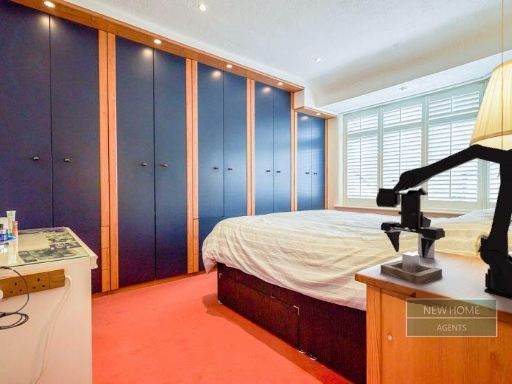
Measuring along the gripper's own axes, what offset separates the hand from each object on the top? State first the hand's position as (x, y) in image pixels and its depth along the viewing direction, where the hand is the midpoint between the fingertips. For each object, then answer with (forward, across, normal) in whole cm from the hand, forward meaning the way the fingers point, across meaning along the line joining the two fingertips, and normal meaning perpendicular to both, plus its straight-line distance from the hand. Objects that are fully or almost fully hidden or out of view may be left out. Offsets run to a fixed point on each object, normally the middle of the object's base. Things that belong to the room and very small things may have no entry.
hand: (410, 254), depth 91 cm
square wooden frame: (+7, 0, 0) cm, 7 cm away
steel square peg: (+7, 0, 0) cm, 7 cm away
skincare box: (+7, +10, -27) cm, 30 cm away
